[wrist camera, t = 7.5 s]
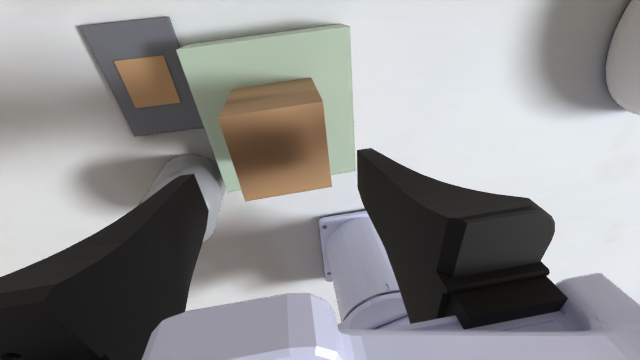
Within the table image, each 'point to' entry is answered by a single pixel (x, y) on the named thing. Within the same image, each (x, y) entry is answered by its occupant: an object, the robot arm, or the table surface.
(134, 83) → the card
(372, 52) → the table surface
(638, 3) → the donut shape
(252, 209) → the table surface
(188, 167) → the grey cylinder
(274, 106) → the walnut cube
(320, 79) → the sage slab
